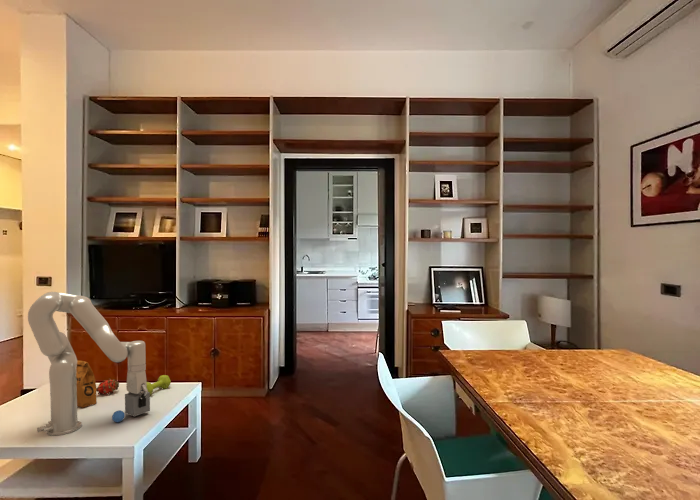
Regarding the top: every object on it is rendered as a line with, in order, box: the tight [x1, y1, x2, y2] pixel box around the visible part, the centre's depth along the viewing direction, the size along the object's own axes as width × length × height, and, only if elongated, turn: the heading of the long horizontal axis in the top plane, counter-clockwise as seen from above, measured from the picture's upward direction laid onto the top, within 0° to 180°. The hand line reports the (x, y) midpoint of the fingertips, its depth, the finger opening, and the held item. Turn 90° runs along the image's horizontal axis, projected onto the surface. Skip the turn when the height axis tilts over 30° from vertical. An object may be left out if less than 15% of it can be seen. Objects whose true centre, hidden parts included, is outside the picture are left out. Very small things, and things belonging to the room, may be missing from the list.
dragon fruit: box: [96, 378, 120, 396], centre depth 223 cm, size 8×8×12 cm
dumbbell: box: [146, 374, 172, 396], centre depth 226 cm, size 16×8×7 cm, turn 160°
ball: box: [111, 410, 126, 423], centre depth 187 cm, size 5×5×5 cm
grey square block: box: [124, 391, 151, 417], centre depth 194 cm, size 8×8×9 cm
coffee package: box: [76, 359, 97, 409], centre depth 209 cm, size 10×12×22 cm
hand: (137, 404), depth 194 cm, fingers closed on grey square block, 7 cm apart
